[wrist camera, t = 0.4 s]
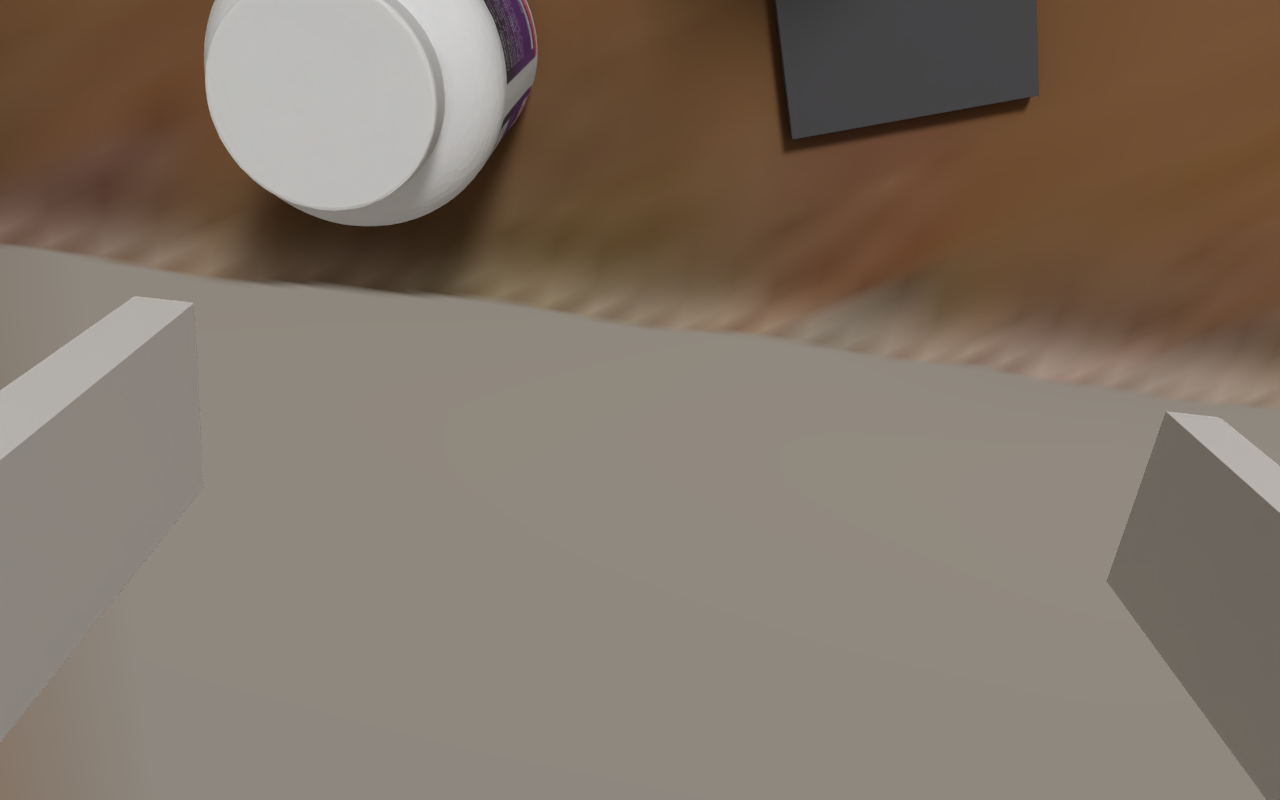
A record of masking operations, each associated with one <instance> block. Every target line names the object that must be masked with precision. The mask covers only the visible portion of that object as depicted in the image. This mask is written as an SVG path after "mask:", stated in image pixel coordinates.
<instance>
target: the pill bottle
mask: <svg viewBox="0 0 1280 800" xmlns="http://www.w3.org/2000/svg"><path fill="white" fill-rule="evenodd" d="M536 67H537V37H536V30H535V25H534V21H533V17H532V14H531V11H530V8H529V5H528V3H527V0H215V1H214V4H213V6H212V9H211V12H210V16H209V20H208V24H207V28H206V35H205V41H204V69H205V87H206V96H207V102H208V106H209V110H210V114H211V118H212V120H213V123H214V125H215V128H216V130H217V132H218V135H219V137H220V139H221V140H222V142H223V144H224V145H225V147H226V149H227V150H228V152H229V153H230V155H231V156H232V157H233V159H234V160H235V161H236V162H237V164H238V165H239V166H240V167H241V168H242V169H243V170H244V171H245V172H246V173H247V174H248V175H249V176H250V177H251V178H252V179H253V180H254V181H255V182H257V183H258V184H259V185H261V186H262V187H263V188H265V189H266V190H267V191H269V192H271V193H272V194H274V195H276V196H277V197H279V198H280V199H282V200H283V201H285V202H287V203H288V204H290V205H292V206H293V207H295V208H297V209H299V210H301V211H303V212H305V213H307V214H310V215H313V216H315V217H318V218H320V219H323V220H327V221H330V222H335V223H339V224H345V225H353V226H383V225H392V224H398V223H403V222H406V221H410V220H413V219H416V218H419V217H421V216H424V215H426V214H429V213H431V212H432V211H434V210H436V209H438V208H440V207H441V206H443V205H444V204H446V203H448V202H449V201H450V200H452V199H453V198H454V197H456V196H457V195H458V194H459V193H460V192H461V191H463V190H464V189H465V188H466V187H467V185H468V184H469V183H470V182H471V181H472V180H473V179H474V178H475V177H476V175H477V174H478V173H479V172H480V170H481V169H482V168H483V167H484V165H485V164H486V162H487V160H488V159H489V157H490V156H491V154H492V153H493V151H494V150H495V148H496V147H497V145H498V144H499V143H500V141H501V140H502V139H503V137H504V136H505V134H506V133H507V132H508V130H509V129H510V128H511V127H512V125H513V124H514V123H515V121H516V120H517V118H518V117H519V115H520V114H521V112H522V110H523V108H524V106H525V104H526V102H527V100H528V97H529V95H530V92H531V89H532V86H533V82H534V78H535V73H536Z"/></svg>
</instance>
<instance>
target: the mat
mask: <svg viewBox="0 0 1280 800" xmlns="http://www.w3.org/2000/svg"><path fill="white" fill-rule="evenodd" d="M774 3H775V12H776V20H777V28H778V37H779V45H780V53H781V62H782V70H783V78H784V87H785V95H786V103H787V112H788V120H789V128H790V137H791V138H792V139H798V138H804V137H809V136H815V135H820V134H826V133H832V132H837V131H843V130H848V129H854V128H860V127H865V126H871V125H876V124H882V123H888V122H893V121H899V120H904V119H910V118H916V117H921V116H927V115H932V114H938V113H944V112H949V111H955V110H960V109H966V108H972V107H977V106H983V105H988V104H994V103H1000V102H1005V101H1011V100H1016V99H1022V98H1028V97H1033V96H1039V88H1038V54H1037V20H1036V0H774Z"/></svg>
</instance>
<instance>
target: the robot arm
mask: <svg viewBox="0 0 1280 800" xmlns="http://www.w3.org/2000/svg"><path fill="white" fill-rule="evenodd" d="M203 488H204V486H203V466H202V446H201V427H200V407H199V388H198V368H197V349H196V329H195V310H194V303H192V302H182V301H174V300H164V299H156V298H146V297H138V296H134V297H133V298H131V299H130V300H129V301H127V302H126V303H124V304H123V305H121V306H120V307H119V308H117V309H116V310H114V311H113V312H111V313H110V314H109V315H107V316H106V317H104V318H103V319H101V320H100V321H99V322H97V323H96V324H94V325H93V326H91V327H90V328H89V329H87V330H86V331H84V332H83V333H82V334H80V335H79V336H77V337H76V338H75V339H73V340H72V341H70V342H69V343H67V344H66V345H65V346H63V347H62V348H60V349H59V350H57V351H56V352H54V353H53V354H52V355H51V356H49V357H47V358H46V359H45V360H43V361H42V362H40V363H39V364H37V365H36V366H35V367H33V368H32V369H30V370H29V371H27V372H26V373H25V374H23V375H22V376H20V377H19V378H18V379H16V380H15V381H13V382H12V383H10V384H9V385H8V386H6V387H5V388H3V389H2V390H0V742H1V741H2V740H3V739H4V737H5V736H6V735H7V733H8V732H9V731H10V730H11V729H12V727H13V726H14V725H15V724H16V722H17V721H18V720H19V719H20V717H21V716H22V715H23V713H24V712H25V711H26V710H27V709H28V707H29V706H30V705H31V703H32V702H33V701H34V700H35V698H36V697H37V696H38V695H39V693H40V692H41V691H42V690H43V688H44V687H45V686H46V685H47V683H48V682H49V681H50V680H51V678H52V677H53V676H54V675H55V673H56V672H57V671H58V670H59V668H60V667H61V666H62V664H63V663H64V662H65V661H66V660H67V658H68V657H69V656H70V654H71V653H72V652H73V651H74V650H75V648H76V647H77V646H78V645H79V643H80V642H81V641H82V640H83V638H84V637H85V636H86V635H87V633H88V632H89V631H90V630H91V628H92V627H93V626H94V624H95V623H96V622H97V621H98V620H99V618H100V617H101V616H102V614H103V613H104V612H105V611H106V609H107V608H108V607H109V605H110V604H111V603H112V602H113V601H114V599H115V598H116V597H117V596H118V594H119V593H120V592H121V591H122V589H123V588H124V587H125V586H126V584H127V583H128V582H129V581H130V579H131V578H132V577H133V576H134V574H135V573H136V572H137V571H138V569H139V568H140V567H141V566H142V564H143V563H144V562H145V561H146V559H147V558H148V557H149V556H150V554H151V553H152V552H153V550H154V549H155V548H156V547H157V546H158V544H159V543H160V542H161V541H162V539H163V538H164V537H165V536H166V534H167V533H168V531H169V530H170V529H171V528H172V527H173V525H174V524H175V523H176V521H177V520H178V519H179V518H180V517H181V515H182V514H183V513H184V512H185V510H186V509H187V508H188V507H189V505H190V504H191V503H192V502H193V500H194V499H195V498H196V497H197V495H198V494H199V493H200V492H201V490H202V489H203ZM1107 582H1108V584H1109V585H1110V586H1111V588H1112V589H1113V590H1114V592H1115V593H1116V594H1117V596H1118V597H1119V599H1120V600H1121V601H1122V603H1123V604H1124V605H1125V607H1126V608H1127V610H1128V611H1129V612H1130V614H1131V615H1132V616H1133V618H1134V619H1135V621H1136V622H1137V623H1138V625H1139V626H1140V627H1141V629H1142V630H1143V632H1144V633H1145V634H1146V636H1147V637H1148V638H1149V640H1150V641H1151V642H1152V644H1153V645H1154V647H1155V648H1156V649H1157V651H1158V652H1159V653H1160V655H1161V656H1162V657H1163V659H1164V660H1165V662H1166V663H1167V664H1168V666H1169V667H1170V668H1171V670H1172V671H1173V672H1174V674H1175V675H1176V677H1177V678H1178V679H1179V681H1180V682H1181V683H1182V685H1183V686H1184V687H1185V689H1186V690H1187V692H1188V693H1189V694H1190V696H1191V697H1192V699H1193V700H1194V701H1195V702H1196V704H1197V705H1198V707H1199V708H1200V709H1201V711H1202V712H1203V713H1204V715H1205V716H1206V718H1207V719H1208V720H1209V722H1210V723H1211V725H1212V726H1213V727H1214V729H1215V730H1216V731H1217V733H1218V734H1219V735H1220V737H1221V738H1222V739H1223V741H1224V742H1225V744H1226V745H1227V746H1228V748H1229V749H1230V750H1231V752H1232V753H1233V754H1234V756H1235V757H1236V759H1237V760H1238V761H1239V763H1240V764H1241V766H1242V767H1243V768H1244V769H1245V771H1246V772H1247V774H1248V775H1249V776H1250V778H1251V779H1252V780H1253V782H1254V783H1255V785H1256V786H1257V787H1258V789H1259V790H1260V792H1261V793H1262V794H1263V796H1264V797H1265V798H1266V800H1280V466H1279V465H1277V464H1276V463H1275V462H1274V461H1272V460H1271V459H1270V458H1269V457H1268V456H1266V455H1265V454H1264V453H1263V452H1261V451H1260V450H1259V449H1258V448H1257V447H1255V446H1254V445H1253V444H1252V443H1251V442H1249V441H1248V440H1247V439H1246V438H1244V437H1243V436H1242V435H1241V434H1240V433H1238V432H1237V431H1236V430H1234V429H1233V428H1232V427H1231V426H1230V425H1229V424H1227V423H1226V422H1225V421H1224V420H1223V419H1221V418H1220V417H1211V416H1202V415H1192V414H1184V413H1175V412H1166V413H1165V416H1164V419H1163V422H1162V424H1161V427H1160V430H1159V433H1158V436H1157V439H1156V442H1155V445H1154V447H1153V450H1152V453H1151V456H1150V459H1149V462H1148V464H1147V467H1146V470H1145V473H1144V476H1143V479H1142V482H1141V484H1140V488H1139V490H1138V493H1137V496H1136V499H1135V502H1134V504H1133V507H1132V510H1131V513H1130V516H1129V519H1128V522H1127V524H1126V527H1125V530H1124V533H1123V536H1122V539H1121V542H1120V545H1119V548H1118V550H1117V553H1116V556H1115V559H1114V562H1113V565H1112V567H1111V570H1110V573H1109V576H1108V579H1107Z"/></svg>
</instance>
